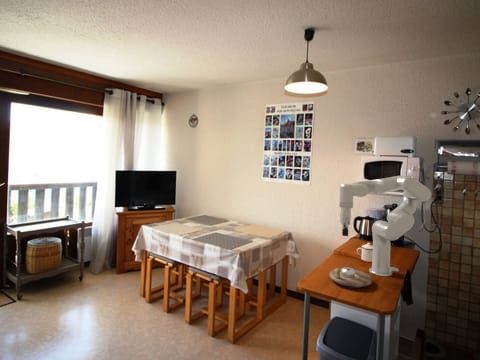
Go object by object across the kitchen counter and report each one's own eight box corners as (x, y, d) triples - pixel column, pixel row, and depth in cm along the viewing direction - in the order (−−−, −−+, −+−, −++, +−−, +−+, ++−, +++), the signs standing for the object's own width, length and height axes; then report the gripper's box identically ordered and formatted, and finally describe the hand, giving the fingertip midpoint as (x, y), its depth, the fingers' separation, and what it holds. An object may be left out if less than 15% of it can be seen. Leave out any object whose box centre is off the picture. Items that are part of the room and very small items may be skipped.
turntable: (350, 268, 177) (350, 258, 176) (381, 282, 156) (381, 270, 156) (321, 274, 168) (321, 263, 167) (349, 289, 148) (350, 276, 147)
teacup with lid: (376, 259, 202) (376, 242, 201) (374, 262, 194) (375, 245, 194) (357, 256, 208) (358, 240, 208) (355, 259, 201) (356, 242, 200)
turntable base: (362, 278, 168) (363, 274, 168) (368, 289, 153) (368, 285, 153) (333, 275, 172) (334, 271, 172) (336, 286, 156) (336, 282, 156)
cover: (348, 272, 166) (348, 266, 166) (357, 277, 160) (357, 270, 160) (338, 274, 164) (338, 267, 164) (347, 278, 157) (347, 272, 157)
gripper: (338, 203, 180) (337, 232, 181) (340, 206, 166) (339, 238, 167) (351, 203, 178) (350, 233, 179) (354, 207, 164) (353, 239, 165)
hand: (345, 235), depth 173 cm, fingers closed
